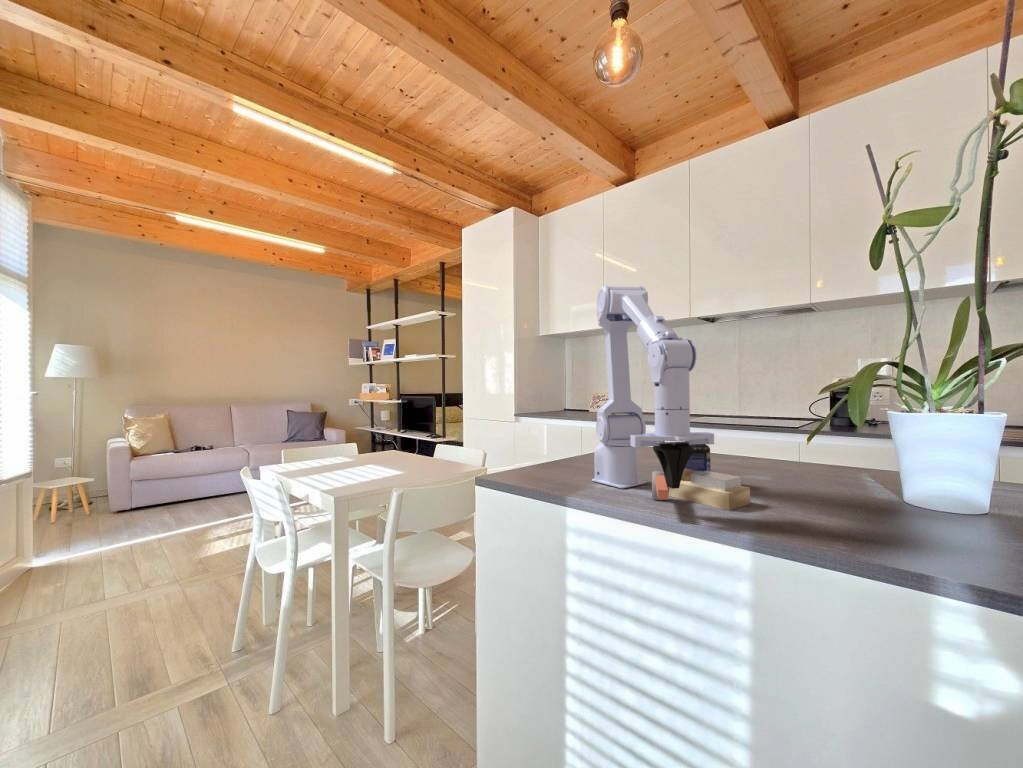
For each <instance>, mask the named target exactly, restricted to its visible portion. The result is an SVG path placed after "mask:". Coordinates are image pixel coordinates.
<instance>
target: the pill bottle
mask: <svg viewBox="0 0 1023 768" xmlns="http://www.w3.org/2000/svg"><path fill="white" fill-rule="evenodd" d="M689 447H693V454H692V455H691V457H690V458H689V460H688V462H687V464H686V466H685V469H691V470H692V474H693V473H698V472H703V471H711V472H712V470H711V448H710V446H709V444H692V445H689Z"/></svg>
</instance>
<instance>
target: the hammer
mask: <svg viewBox="0 0 1023 768" xmlns="http://www.w3.org/2000/svg"><path fill="white" fill-rule="evenodd" d="M651 498H652V499H653V500H656V501H666V500H667V501H669V487H668V486H667V483H666V479H665V475H664V472H663V470H662V471H660V470H659V471H658V470H653V471H652V472H651Z"/></svg>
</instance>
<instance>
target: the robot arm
mask: <svg viewBox="0 0 1023 768" xmlns="http://www.w3.org/2000/svg"><path fill="white" fill-rule="evenodd" d="M596 317H597V319H596V320H597V324H598V326H599V327H600V328H602V329H603V330H604V339H605V340H604V341H605V357H606V373H607V375H606V377H607V393H608V394H607V396H608V400H607V402H605V403H604V404H603V405H602V406H601V407H599V409H598V410H597V412H596V423H595V431H596V436H597V438H598V440H599V441H600V443H599V444H598V445H597V446H596V448H595V449H594V454H593V455H594V456H593V457H594V462H593V463H594V478H592V479H591V481H592V482H595V483H599V484H602V485H603V484H604V485H606V486H607V485H608V486H611V487H615V488H619V489H627V488H631V487H636V486H640V485H645V484H647V481H645V480H641V479H639V478H638V475H639V473H638V471H639V468H638V448H644V447H652V449H653V452H654V454H655V455H656V457H657V459H658V462H659V463H660V466H661V468H662V472H664V475H665V479H666V483H667V488H669V487H670V488H673V489H674V488H679V486H680V482H681V478H682V474H683V471H684V469H685V466H686V464H687V462H688V460H689V458H690V457H691V455H692V454H693V447H689V445H692V444H706V445H715V433H714V432H709V431H700V432H699V431H698V432H695V431H693V432H692V431H691V417H690V416H691V414H690V413H691V410H690V407H691V405H690V400H691V398H690V372H692V370H694V367H695V366H696V362H697V348H696V346H695V343H694V342H693V340H692V339H690V338H683V337H679V336H678V334H677V333H676V332H675V331H674V330H673V328H672V326H670V325H669V323H668V322H667V321H666V319H665V318H664V316H663V315H654V313H653V311H652V309H651V307H650V306H649V293H648V291H647V290H646V288H645V287H644V286H642V285H641V286H640V285H639V286H608V285H603V286H602V287H601V288H600V289H599V290H598V293H597V297H596ZM635 326H637V328H636V336H637V338H638V339H639V341H640V343H641V344H642V345H643V347H644V348H645V350H646V352H647V363H648V368H649V370H650V380H651V383H654V384H653V385H654V386H653V387H654V391H653V393H654V394H653V395H654V432H650V433H646V432H647V431H646V430H647V429H646V422H645V419H644V416H643V408H642V407H640V406H639V405H638V404H636V403H635V402H634V401H633V400H632V395H631V393H632V392H631V380H630V379H631V378H630V364H629V360H630V359H629V349H628V348H629V347H628V331H629V329H630V328H633V327H635ZM613 414H614V415H613Z"/></svg>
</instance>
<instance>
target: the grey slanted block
mask: <svg viewBox="0 0 1023 768" xmlns="http://www.w3.org/2000/svg"><path fill="white" fill-rule="evenodd" d="M741 479H742V478H741V476H738V475H732V474H728V473H727V474H726V473H721V472H715V471H712V470H711V471H703V472H698V473H693V474H691V484H692V485H697V486H701V487H706V488H711V489H715V490H720V491H724V492H725V491H729V490H733V489H737V488H741V486H742V483H741V482H742V481H741Z"/></svg>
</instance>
